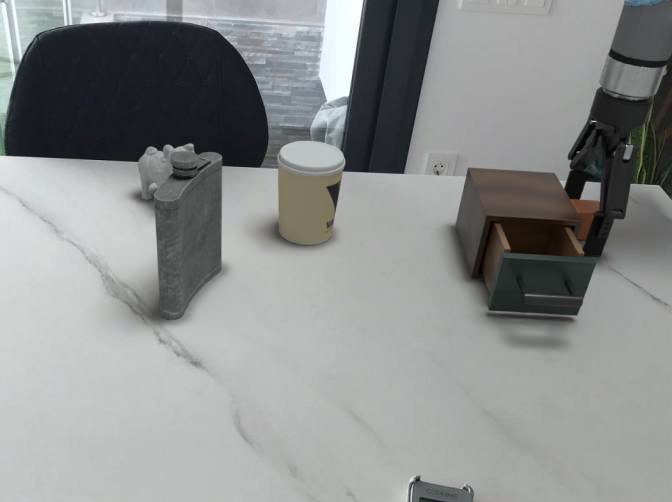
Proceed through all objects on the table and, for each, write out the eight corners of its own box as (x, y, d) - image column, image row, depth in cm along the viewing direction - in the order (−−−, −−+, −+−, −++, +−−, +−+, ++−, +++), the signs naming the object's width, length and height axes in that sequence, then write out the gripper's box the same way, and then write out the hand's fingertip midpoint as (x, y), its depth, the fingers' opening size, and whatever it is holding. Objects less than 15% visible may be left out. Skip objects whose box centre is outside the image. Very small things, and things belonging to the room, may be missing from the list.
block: (589, 226, 120) (598, 200, 117) (598, 240, 117) (607, 214, 114) (561, 224, 120) (569, 198, 117) (569, 239, 116) (577, 212, 114)
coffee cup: (338, 249, 110) (348, 169, 102) (273, 246, 109) (277, 165, 102) (335, 218, 117) (343, 141, 109) (273, 215, 117) (277, 138, 109)
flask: (150, 314, 95) (141, 176, 83) (200, 260, 105) (198, 131, 94) (177, 322, 94) (172, 183, 83) (224, 266, 105) (226, 136, 93)
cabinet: (561, 284, 106) (583, 221, 100) (470, 278, 106) (486, 215, 100) (537, 232, 117) (554, 172, 111) (454, 227, 117) (467, 167, 111)
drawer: (588, 338, 95) (608, 284, 90) (496, 333, 95) (511, 279, 90) (551, 261, 109) (567, 211, 104) (471, 256, 109) (483, 205, 104)
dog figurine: (185, 227, 112) (183, 157, 105) (134, 195, 119) (129, 127, 112) (214, 217, 115) (214, 148, 108) (162, 185, 122) (159, 119, 115)
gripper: (689, 129, 95) (628, 276, 109) (624, 63, 114) (580, 196, 128) (628, 124, 95) (576, 273, 108) (574, 59, 114) (535, 192, 128)
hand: (578, 231), depth 118 cm, fingers open, 13 cm apart
